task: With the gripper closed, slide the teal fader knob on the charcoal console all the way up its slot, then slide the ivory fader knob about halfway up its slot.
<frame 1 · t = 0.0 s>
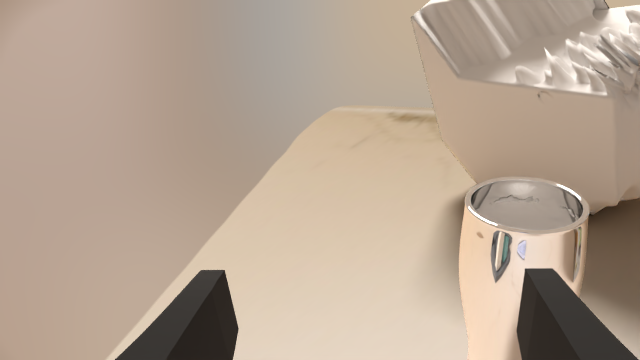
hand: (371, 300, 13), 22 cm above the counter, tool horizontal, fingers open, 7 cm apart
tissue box: (544, 194, 61), on the counter
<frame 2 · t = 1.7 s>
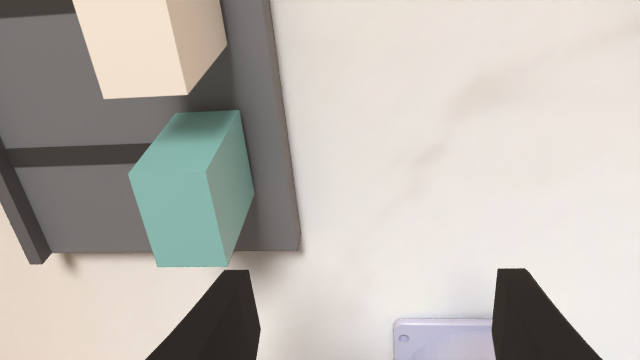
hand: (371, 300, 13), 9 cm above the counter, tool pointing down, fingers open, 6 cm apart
fader console: (132, 94, 21), on the counter
teal fader: (200, 185, 19), point 4 cm above the counter, slide at 0.0 cm
ivory fader: (157, 9, 16), point 4 cm above the counter, slide at 0.0 cm
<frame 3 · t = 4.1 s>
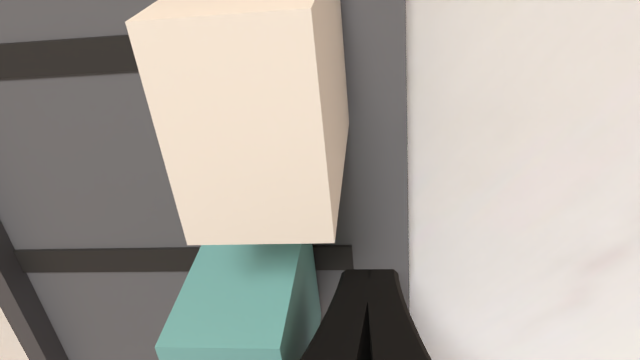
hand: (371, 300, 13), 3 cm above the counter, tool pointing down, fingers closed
fader console: (191, 176, 15), on the counter
teal fader: (255, 327, 13), point 4 cm above the counter, slide at 1.2 cm, touching gripper
ivory fader: (268, 86, 9), point 4 cm above the counter, slide at 0.0 cm
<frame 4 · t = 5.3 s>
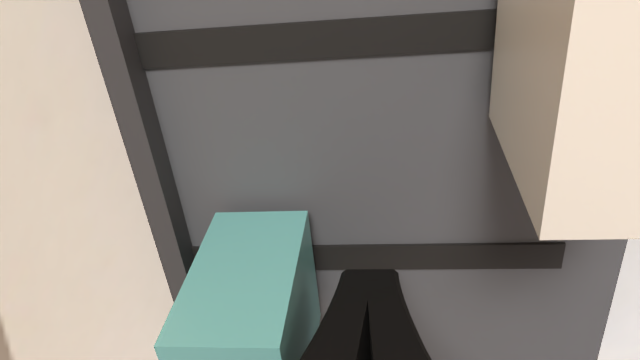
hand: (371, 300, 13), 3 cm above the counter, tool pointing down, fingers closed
fader console: (385, 169, 14), on the counter
teal fader: (254, 327, 13), point 4 cm above the counter, slide at 6.6 cm, touching gripper
ivory fader: (595, 68, 9), point 4 cm above the counter, slide at 0.0 cm
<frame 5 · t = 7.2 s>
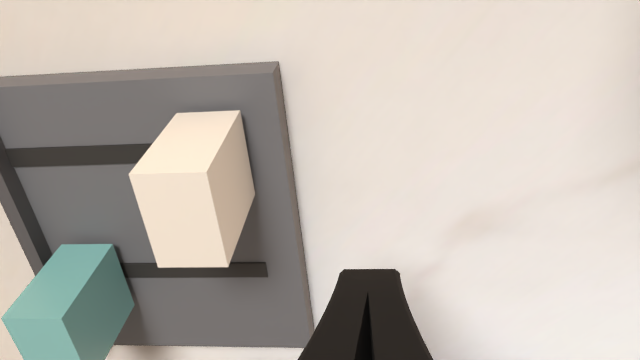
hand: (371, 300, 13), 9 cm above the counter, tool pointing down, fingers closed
fader console: (168, 218, 24), on the counter
teal fader: (75, 310, 23), point 4 cm above the counter, slide at 6.7 cm
ivory fader: (200, 185, 19), point 4 cm above the counter, slide at 0.0 cm
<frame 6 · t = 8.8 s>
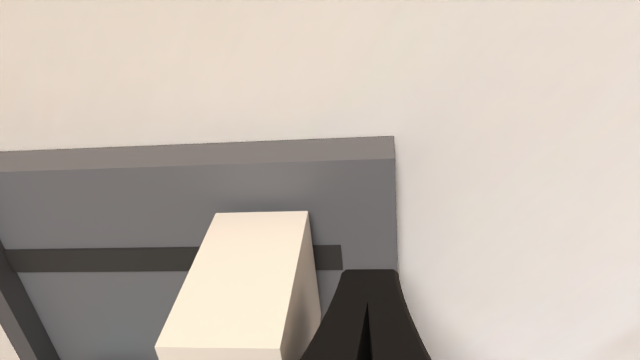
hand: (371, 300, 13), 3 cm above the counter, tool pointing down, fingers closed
fader console: (221, 326, 18), on the counter
ivory fader: (255, 327, 13), point 4 cm above the counter, slide at 0.9 cm, touching gripper
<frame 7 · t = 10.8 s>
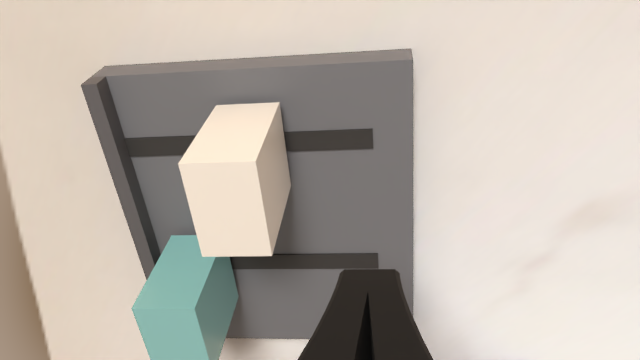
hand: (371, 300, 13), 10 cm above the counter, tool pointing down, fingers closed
fader console: (276, 208, 24), on the counter
teal fader: (191, 301, 22), point 4 cm above the counter, slide at 6.7 cm
ivory fader: (242, 176, 19), point 4 cm above the counter, slide at 3.5 cm
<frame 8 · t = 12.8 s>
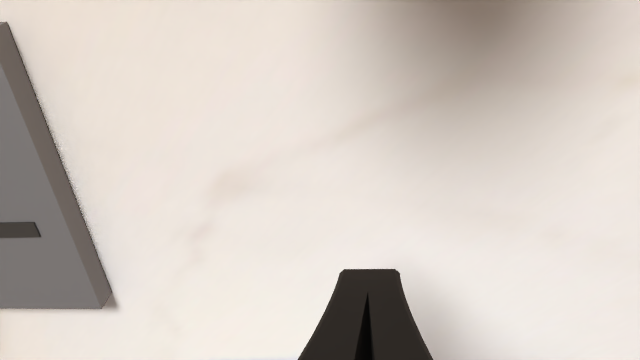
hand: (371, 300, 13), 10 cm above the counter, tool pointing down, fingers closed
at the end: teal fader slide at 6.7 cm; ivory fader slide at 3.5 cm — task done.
